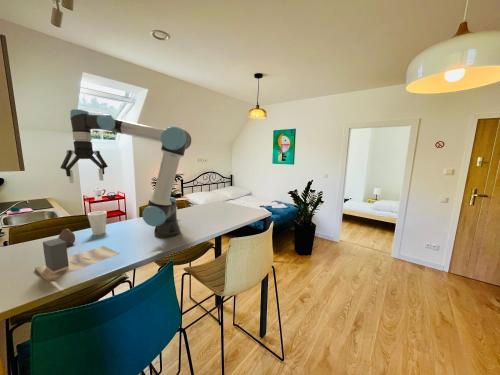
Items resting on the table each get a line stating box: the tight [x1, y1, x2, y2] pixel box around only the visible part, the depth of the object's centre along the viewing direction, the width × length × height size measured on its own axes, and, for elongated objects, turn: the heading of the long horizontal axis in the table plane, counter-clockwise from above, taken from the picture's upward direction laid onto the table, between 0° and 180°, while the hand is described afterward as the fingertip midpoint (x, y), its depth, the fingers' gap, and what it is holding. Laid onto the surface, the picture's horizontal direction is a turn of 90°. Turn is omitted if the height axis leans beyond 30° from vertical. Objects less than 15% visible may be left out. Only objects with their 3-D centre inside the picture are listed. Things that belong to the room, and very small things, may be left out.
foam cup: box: [87, 210, 108, 236], centre depth 130 cm, size 10×9×13 cm
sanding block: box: [42, 238, 69, 273], centre depth 87 cm, size 8×5×11 cm, turn 59°
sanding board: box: [34, 245, 120, 283], centre depth 95 cm, size 26×16×1 cm, turn 149°
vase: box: [58, 228, 76, 247], centre depth 113 cm, size 7×7×9 cm
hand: (87, 181), depth 113 cm, fingers open, 13 cm apart
